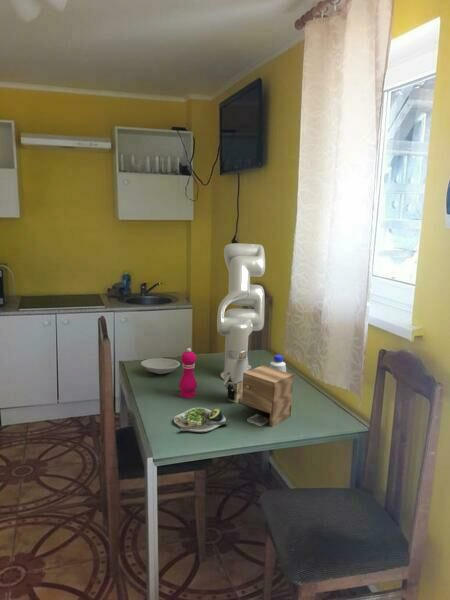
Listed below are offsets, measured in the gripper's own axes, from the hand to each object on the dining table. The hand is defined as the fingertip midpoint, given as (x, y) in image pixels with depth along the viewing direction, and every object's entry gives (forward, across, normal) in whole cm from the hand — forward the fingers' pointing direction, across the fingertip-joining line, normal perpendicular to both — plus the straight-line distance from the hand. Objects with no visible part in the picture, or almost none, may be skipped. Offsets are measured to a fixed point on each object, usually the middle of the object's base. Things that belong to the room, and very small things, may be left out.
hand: (235, 396), depth 200 cm
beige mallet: (+1, 0, +10) cm, 10 cm away
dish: (+2, +1, -43) cm, 43 cm away
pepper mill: (+2, +10, -17) cm, 20 cm away
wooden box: (+1, +3, +17) cm, 17 cm away
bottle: (+2, -9, +13) cm, 16 cm away
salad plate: (+2, +24, +4) cm, 24 cm away
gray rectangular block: (+2, +9, +18) cm, 20 cm away
